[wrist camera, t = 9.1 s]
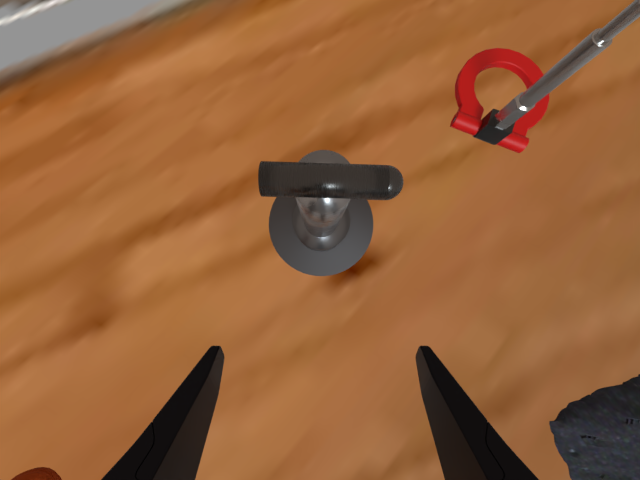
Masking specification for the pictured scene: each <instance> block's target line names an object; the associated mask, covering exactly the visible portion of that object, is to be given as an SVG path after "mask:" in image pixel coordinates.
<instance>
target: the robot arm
mask: <svg viewBox="0 0 640 480" xmlns="http://www.w3.org/2000/svg"><path fill="white" fill-rule="evenodd" d="M223 365H224V353H223V351H222V348H221V346H211V347H210V348H209V349H208V350H207V352H206V353H205V354H204V355H203V357H202V358H201V359H200V360H199V362H198V363H197V364H196V366H195V367H194V368H193V369H192V371H191V372H190V373H189V374H188V376H187V377H186V378H185V380H184V381H183V382H182V383H181V385H180V386H179V387H178V388H177V390H176V391H175V392H174V394H173V395H172V396H171V397H170V399H169V400H168V401H167V402H166V404H165V405H164V406H163V408H162V409H161V410H160V411H159V413H158V414H157V415H156V416H155V418H154V419H153V421H152V422H151V423H150V424H149V425H148V427H147V428H146V429H145V430H144V432H143V433H142V434H141V435H140V436H139V438H138V439H137V440H136V441H135V443H134V444H133V445H132V446H131V447H130V448H129V449H128V450H127V452H126V453H125V454H124V455H123V456H122V457H121V458H120V459H119V460H118V462H117V463H116V464H115V465H114V466H113V467H112V468H111V469H110V470H109V471H108V472H107V474H106V475H105V476H104V477H103V478H102V479H101V480H195V478H196V475H197V471H198V468H199V464H200V460H201V457H202V453H203V449H204V446H205V442H206V439H207V435H208V431H209V428H210V424H211V421H212V417H213V413H214V410H215V406H216V402H217V399H218V395H219V389H220V383H221V377H222V371H223ZM416 365H417V371H418V377H419V383H420V389H421V395H422V399H423V402H424V406H425V410H426V413H427V417H428V421H429V424H430V428H431V431H432V435H433V439H434V442H435V446H436V449H437V453H438V457H439V460H440V464H441V468H442V471H443V475H444V478H445V480H539V479H538V478H537V477H536V476H535V475H534V474H533V472H532V471H531V470H530V469H529V468H528V467H527V466H526V465H525V464H524V463H523V462H522V460H521V459H520V458H519V457H518V456H517V455H516V454H515V453H514V452H513V450H512V449H511V448H510V447H509V446H508V445H507V444H506V443H505V441H504V440H503V439H502V438H501V436H500V435H499V434H498V433H497V432H496V430H495V429H494V428H493V427H492V425H491V424H490V423H489V422H488V421H487V419H486V418H485V416H484V415H483V414H482V413H481V411H480V410H479V409H478V408H477V406H476V405H475V404H474V402H473V401H472V400H471V399H470V397H469V396H468V395H467V394H466V392H465V391H464V390H463V388H462V387H461V386H460V385H459V383H458V382H457V381H456V380H455V378H454V377H453V376H452V374H451V373H450V372H449V371H448V369H447V368H446V367H445V366H444V364H443V363H442V362H441V360H440V359H439V358H438V357H437V355H436V354H435V353H434V352H433V350H432V349H431V348H430V347H429V346H419V348H418V351H417V353H416Z"/></svg>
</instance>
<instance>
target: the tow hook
mask: <svg viewBox="0 0 640 480" xmlns="http://www.w3.org/2000/svg"><path fill="white" fill-rule="evenodd" d="M639 17H640V0H634V1H633V2H632V3H631V4H630V5H629V6H628V7H626V8H625V9H624V10H623V11H622V12H621V13H619V14H618V15H617V16H616V17H615V18H614V19H612V20H611V21H610V22H609V23H608V24H607V25H606V26H604V27H603V28H598V29H595V30H594V31H593V32H592V33H591V34H589V35H588V36H587V37H586V38H585V39H584V40H583V41H581V42H580V43H579V44H578V45H577V46H576V47H575V48H574V49H572V50H571V51H570V52H569V53H568V54H567V55H566V56H564V57H563V58H562V59H561V60H560V61H559V62H558V63H556V64H555V65H554V66H553V67H552V68H551V69H550V70H549V71H547V72H546V73H545V74H543V73H542V71H541V70H540V68H539V67H538V66H537V65H536V64H535V63H534V62H533V61H532V60H531V59H530V58H528V57H526V56H525V55H523V54H521V53H519V52H516V51H513V50H510V49H504V48H493V49H486V50H484V51H481V52H479V53H477V54H475V55H474V56H473V57H471V58H470V59H469V60H468V61H467V62H466V63H465V65H464V66H463V68H462V69H461V71H460V72H459V74H458V76H457V79H456V83H455V98H456V101H457V105H458V107H459V109H458V111H457V113H456V114H455V115H454V117H453V119H452V121H451V124H450V127H452V128H455V129H457V130H460V131H462V132H465V133H468V134H470V135H473V137H474V138H477V139H480V140H482V141H485V142H487V143H490V144H492V145H499V146H501V147H504V148H506V149H509V150H512V151H514V152H517V153H521V152H522V151H523V150H524V149H525V148H526V147H527V145H528V143H529V138H527V137H526V134H527V131H528V130H529V129H530V128H532V127H533V126H534V125H536V124H537V123H538V122H539V121H540V120H541V119H542V117H543V116H544V114H545V112H546V111H547V108H548V103H549V93H550V92H551V91H552V90H554V89H555V88H556V87H558V86H559V85H560V84H561V83H563V82H564V81H565V80H566V79H568V78H569V77H570V76H572V75H573V74H574V73H575V72H577V71H578V70H579V69H580V68H582V67H583V66H584V65H586V64H587V63H588V62H589V61H591V60H592V59H593V58H594V57H596V56H597V55H598V54H600V53H601V52H602V51H603V50H605V49H606V48H607V47H609V46H610V45H611V43H612V40H613V38H614V37H615V36H616V35H617V34H619V33H620V32H621V31H622V30H624V29H625V28H626V27H627V26H629V25H630V24H631V23H632V22H634V21H635V20H636V19H637V18H639ZM494 67H497V68H504V69H507V70H510V71H512V72H513V73H515V74H517V75H518V76H519V77H520V78H521V79H522V81H523V82H524V84H525V86H526V88H527V90H526V91H525V92H521V93H520V94H519V95H517V96H516V97H515V98H514V99H513V100H511V101H510V102H509V103H508V104H507V105H506V106H505V107H504V108H502V109H501V110H500V111H499V110H497V109H492V110H491V111H490V112H489V113H488V114H487V115H486V116H485V117H484V118H483V119H482V120H481V118H482V115H483V112H484V109H483V107H482V106H481V104H480V103H479V101H478V99H477V98H476V94H475V90H474V83H475V80H476V77H477V75H478V74H479V73H480V72H481V71H483V70H486V69H488V68H494Z"/></svg>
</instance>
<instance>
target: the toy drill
mask: <svg viewBox="0 0 640 480" xmlns="http://www.w3.org/2000/svg"><path fill="white" fill-rule="evenodd" d="M11 480H62V479H61V477H60V476H59V475H58V474H57V473H56V472H55V471H54V470H52V469H51V468H47V467H37V468H34V469H30V470H27V471H25V472H22V473H20V474H18V475H16V476H15V477H14V478H12V479H11Z"/></svg>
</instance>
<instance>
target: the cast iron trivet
mask: <svg viewBox="0 0 640 480" xmlns="http://www.w3.org/2000/svg"><path fill="white" fill-rule="evenodd" d="M549 425H550V429H551V432H552V433H553V435H554V442H555V445H556V448H557V450H558V452H559V454H560V455H561V457H562V458H563V460H564V462H566V464H567V466H568V469H569V475H570V478H571V479H572V480H640V374H639V375H638V376H637V377H633V378H631V379H629V380H628V381H625V382H623V383H622V384H620V385H615V386H609V387H604V388H600V389H597V390H596V391H594V392H593V393H591V395H587V396H585V397H583V398H581V399H580V400H576V401H573V402H570V403H569V404H568V405H567V407H566V408H564V409H562V410H561V411H560V412H559V414H558V416H557V418H556V419H555V420H554V421H549Z"/></svg>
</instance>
